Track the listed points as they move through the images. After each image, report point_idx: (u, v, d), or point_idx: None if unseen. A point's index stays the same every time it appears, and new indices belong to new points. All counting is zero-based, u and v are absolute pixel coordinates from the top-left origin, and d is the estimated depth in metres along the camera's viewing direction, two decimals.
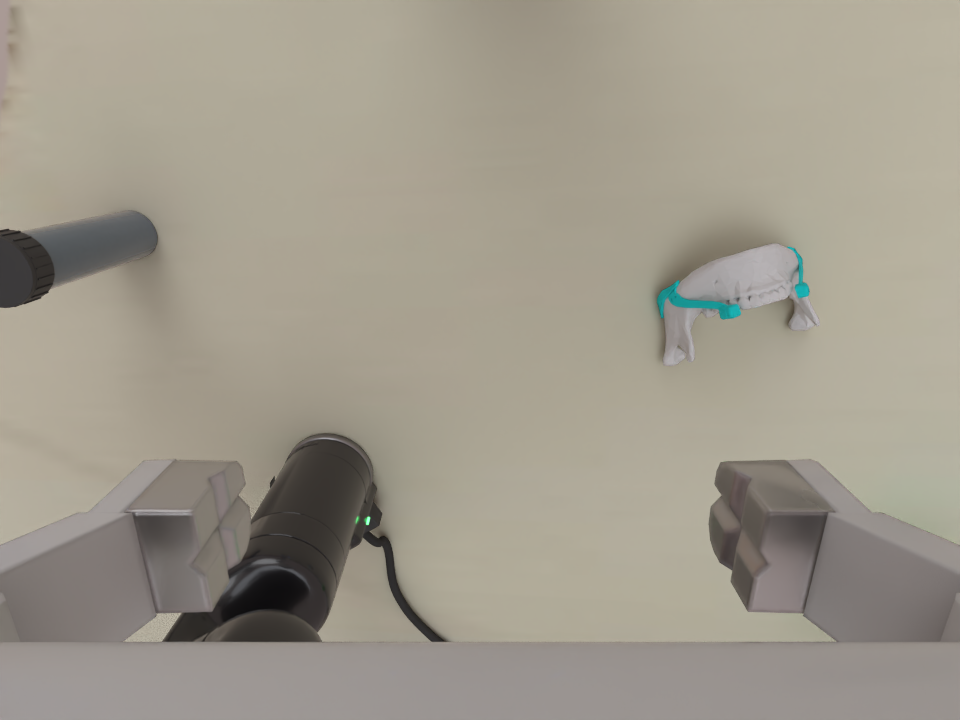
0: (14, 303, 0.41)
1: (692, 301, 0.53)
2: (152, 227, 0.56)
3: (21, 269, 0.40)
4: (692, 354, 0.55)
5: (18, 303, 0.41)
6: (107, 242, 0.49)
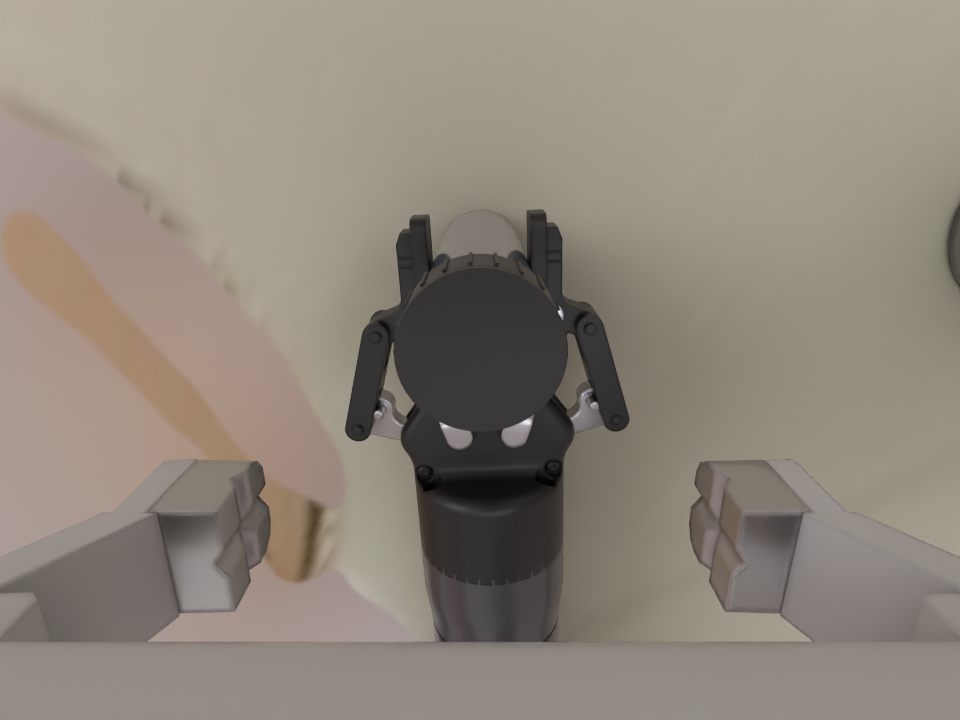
0: (558, 368, 0.17)
1: None
2: (489, 211, 0.32)
3: (509, 296, 0.16)
4: None
5: (564, 361, 0.17)
6: (495, 232, 0.25)
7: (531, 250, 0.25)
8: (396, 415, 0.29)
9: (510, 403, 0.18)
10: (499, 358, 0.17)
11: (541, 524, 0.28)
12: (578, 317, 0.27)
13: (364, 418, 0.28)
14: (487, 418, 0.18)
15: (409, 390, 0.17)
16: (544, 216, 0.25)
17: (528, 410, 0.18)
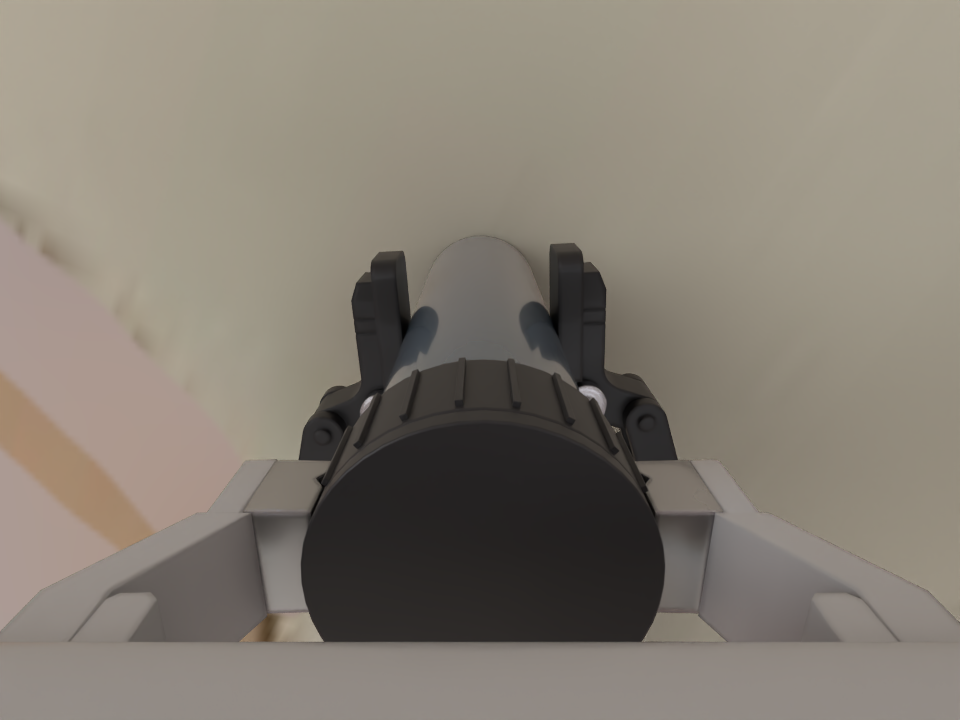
0: (644, 610, 0.08)
1: None
2: (492, 238, 0.23)
3: (544, 477, 0.08)
4: None
5: (656, 597, 0.08)
6: (504, 281, 0.16)
7: (559, 308, 0.16)
8: None
9: None
10: (522, 592, 0.08)
11: None
12: (628, 404, 0.18)
13: None
14: None
15: None
16: (580, 257, 0.16)
17: None
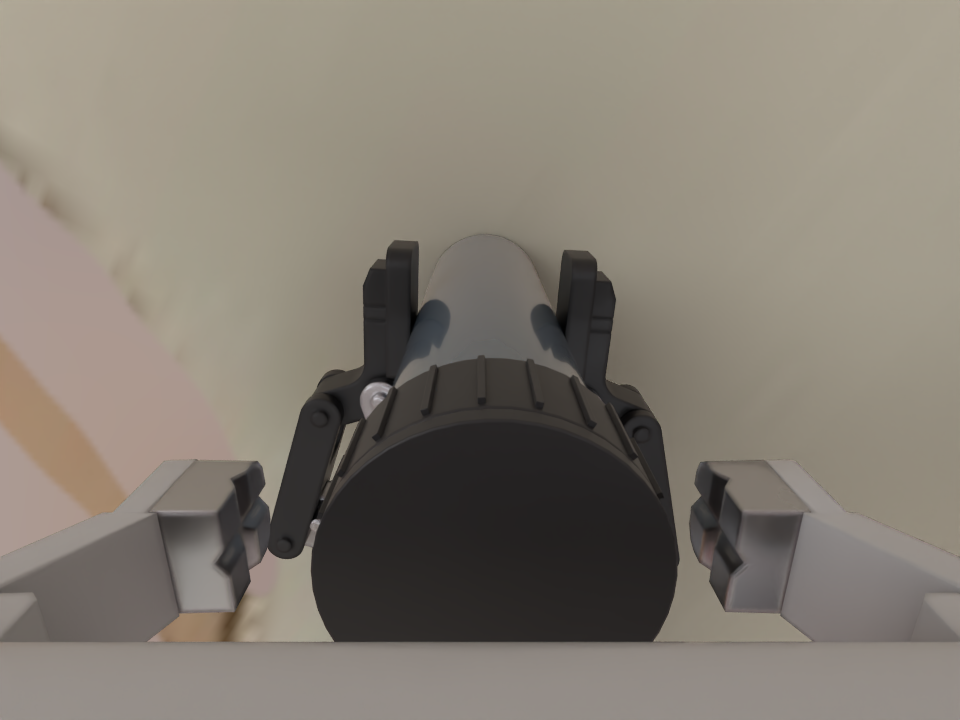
0: (638, 497, 0.08)
1: None
2: (501, 238, 0.23)
3: (435, 475, 0.07)
4: None
5: (633, 479, 0.08)
6: (517, 281, 0.16)
7: (568, 313, 0.17)
8: None
9: (619, 606, 0.08)
10: (528, 564, 0.08)
11: None
12: (624, 414, 0.18)
13: (295, 529, 0.19)
14: None
15: None
16: (594, 265, 0.16)
17: (659, 592, 0.08)
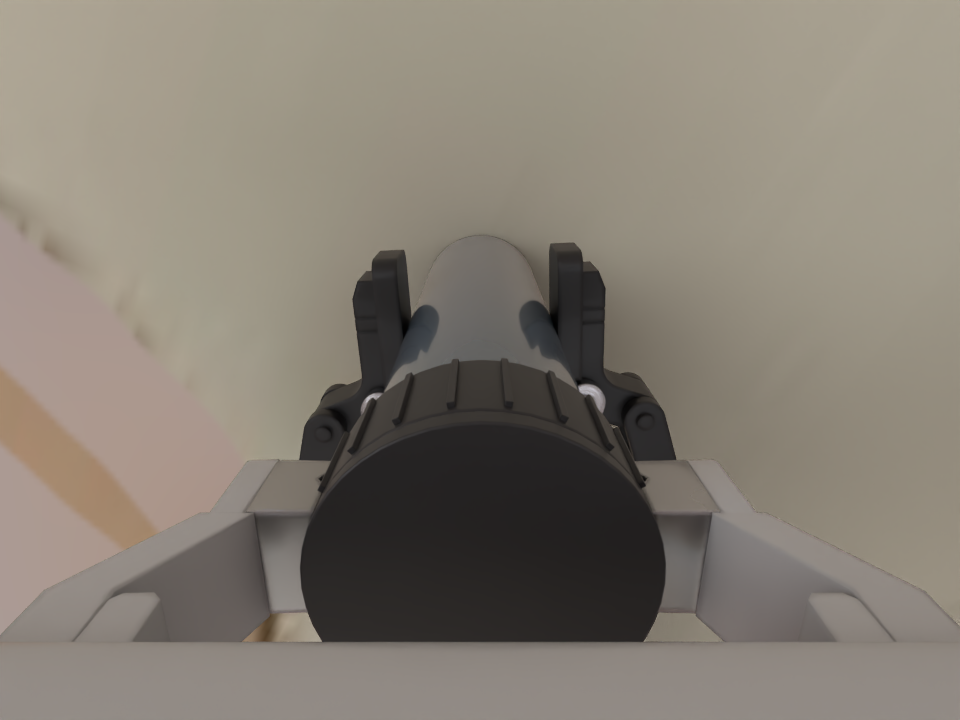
0: (616, 487, 0.08)
1: None
2: (492, 237, 0.23)
3: (410, 483, 0.08)
4: None
5: (609, 470, 0.07)
6: (504, 280, 0.16)
7: (558, 307, 0.17)
8: None
9: (611, 598, 0.08)
10: (514, 564, 0.08)
11: None
12: (626, 403, 0.18)
13: None
14: None
15: None
16: (579, 256, 0.16)
17: (649, 581, 0.08)
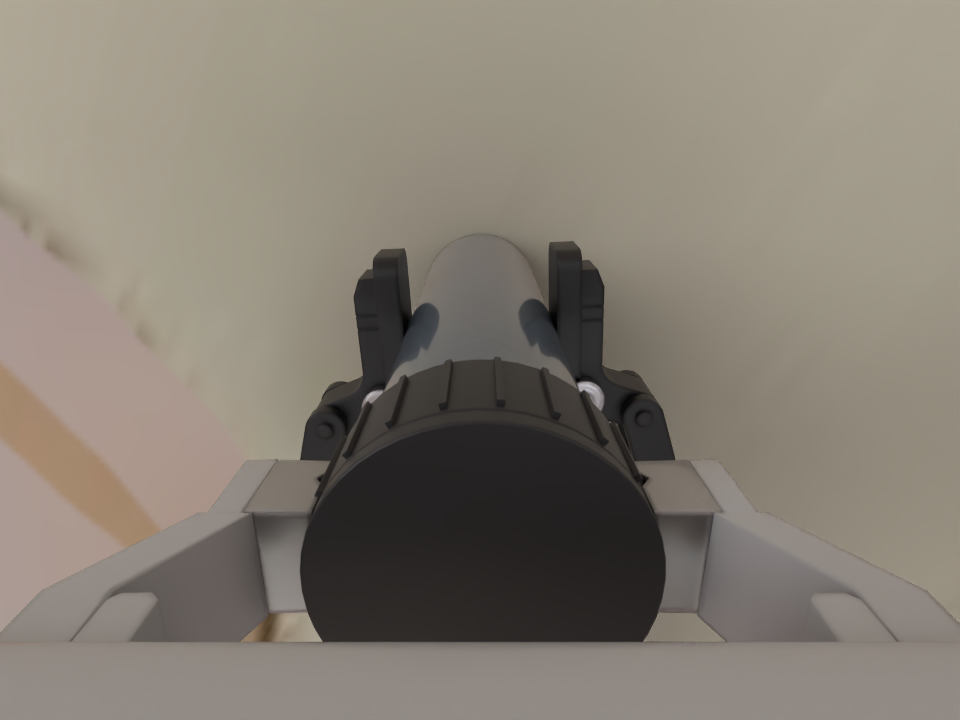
0: (462, 435, 0.07)
1: None
2: (492, 236, 0.23)
3: (345, 573, 0.08)
4: None
5: (440, 431, 0.07)
6: (504, 278, 0.17)
7: (558, 305, 0.17)
8: None
9: (576, 504, 0.08)
10: (478, 552, 0.08)
11: None
12: (625, 400, 0.18)
13: None
14: (625, 537, 0.08)
15: None
16: (578, 254, 0.16)
17: (582, 465, 0.07)
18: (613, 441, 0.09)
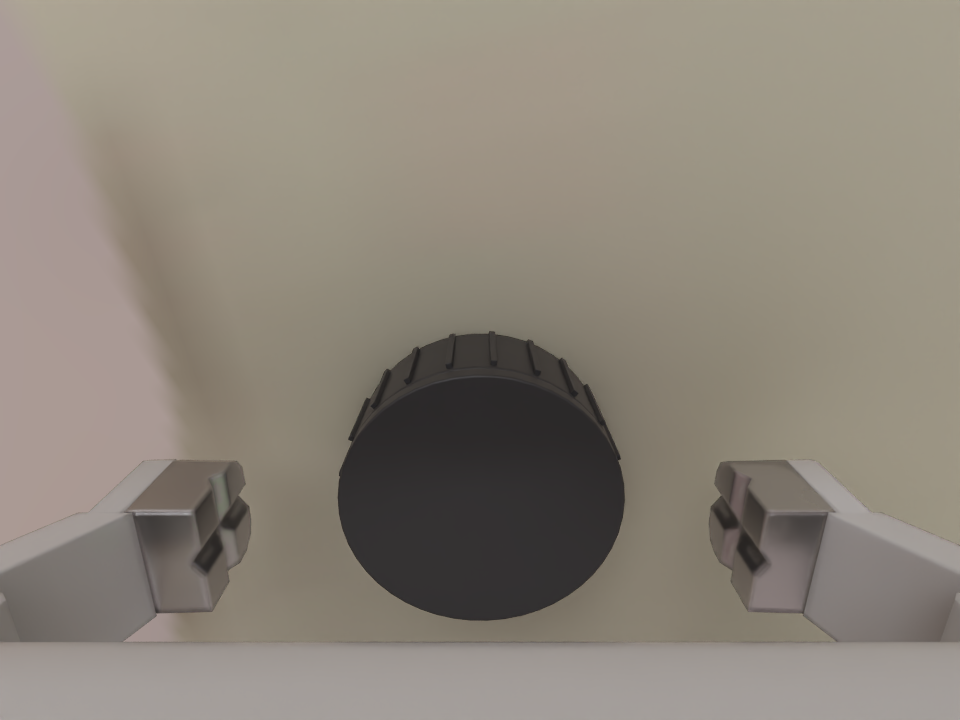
0: (464, 386, 0.10)
1: None
2: None
3: (373, 498, 0.10)
4: None
5: (447, 383, 0.10)
6: None
7: None
8: None
9: (552, 441, 0.10)
10: (477, 480, 0.10)
11: None
12: None
13: None
14: (591, 467, 0.10)
15: (575, 584, 0.11)
16: None
17: (556, 409, 0.10)
18: (584, 396, 0.11)
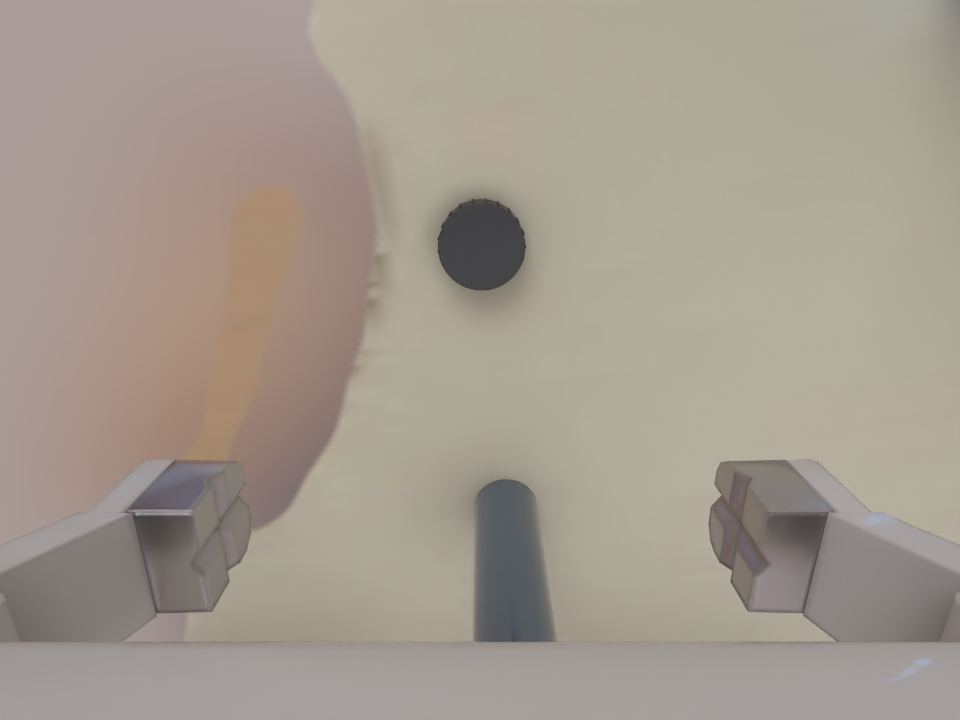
0: (477, 206, 0.33)
1: None
2: (534, 498, 0.42)
3: (449, 243, 0.34)
4: None
5: (472, 205, 0.33)
6: None
7: None
8: None
9: (502, 224, 0.34)
10: (480, 238, 0.34)
11: None
12: None
13: None
14: (514, 233, 0.34)
15: (510, 276, 0.35)
16: None
17: (503, 214, 0.33)
18: (514, 216, 0.35)
